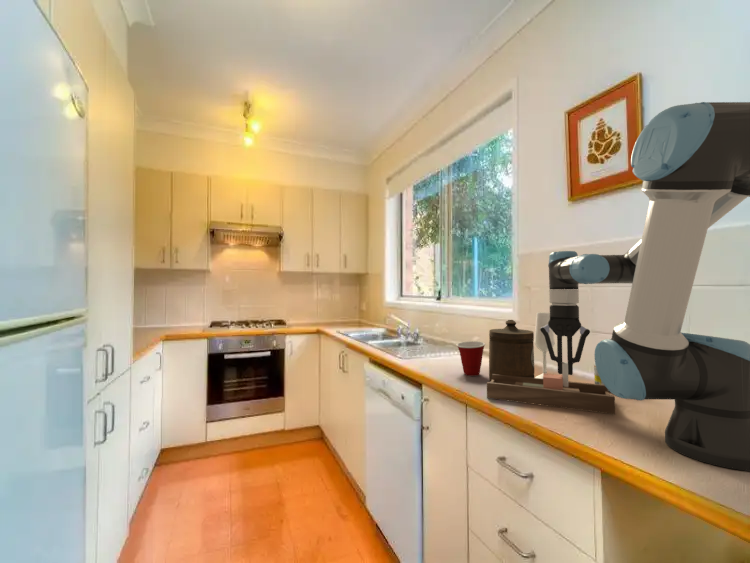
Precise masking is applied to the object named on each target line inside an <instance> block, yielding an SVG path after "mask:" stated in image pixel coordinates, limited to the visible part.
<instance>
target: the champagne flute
mask: <svg viewBox="0 0 750 563" xmlns="http://www.w3.org/2000/svg"><path fill="white" fill-rule="evenodd" d="M535 314H536V315H535V328H534V341H533V344H534V346H535V347H536V348H537V349H538V350H540V352H542V373H541V374H539V375H537V376H534V378H540V379H543V374H544V373H545V374H548V373H547V352H549V351H548V347H547V343H546V340H545V336H544V335H543V333H542V332H541V330H540V329H541V327H544V326H546V325H548V322H549V320H550V312H542V311H541V312H540V311H538V312H536V313H535ZM548 334H549V337H550V340H551V344H552V347H554V346H555V334H554V332H553V331H552V329H551V328H549V333H548Z"/></svg>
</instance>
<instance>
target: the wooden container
mask: <svg viewBox="0 0 750 563" xmlns="http://www.w3.org/2000/svg"><path fill="white" fill-rule="evenodd" d="M516 324H517V322H516V320H514V319H508V320H506V321H505V327H503V328H493V329H489V332H488V333H489V334H488V335H489V336H488V337H489V342H488V352H489V353H488V375H489V376H488V380H489V381H488V382H491V380H492V374H499V375H509V376H520V377H530V378H535V355H534V354H535V353H534V352H535V351H534V348H535V347H534V346H535V344H534V338H535V331H533V330H529V329H522V328H521V329H520V328H518V327H517V325H516Z"/></svg>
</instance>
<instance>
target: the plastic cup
mask: <svg viewBox="0 0 750 563" xmlns="http://www.w3.org/2000/svg"><path fill="white" fill-rule="evenodd" d="M455 345H456V347H457V348H458V351H459V356H460V361H461V365H462V370H463V374H464V375H465V376H471V377H475V376H479V375H480V374H481V369H482V368H481V367H482V362H483V355H484V354H483V353H484V348H485V346H486V343H485V342H483V341H478V340H477V341H471V340H468V341H461V342H457V343H456V344H455Z"/></svg>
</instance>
